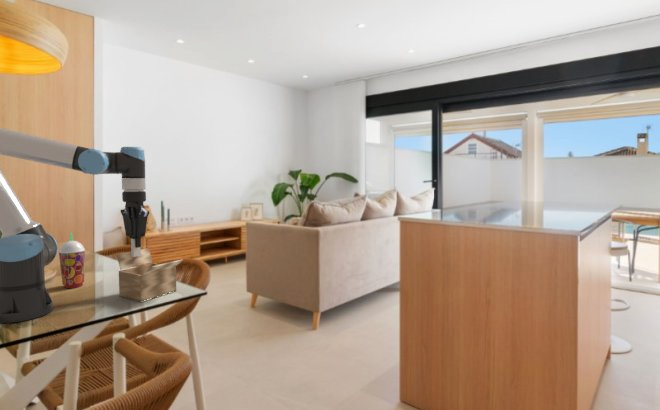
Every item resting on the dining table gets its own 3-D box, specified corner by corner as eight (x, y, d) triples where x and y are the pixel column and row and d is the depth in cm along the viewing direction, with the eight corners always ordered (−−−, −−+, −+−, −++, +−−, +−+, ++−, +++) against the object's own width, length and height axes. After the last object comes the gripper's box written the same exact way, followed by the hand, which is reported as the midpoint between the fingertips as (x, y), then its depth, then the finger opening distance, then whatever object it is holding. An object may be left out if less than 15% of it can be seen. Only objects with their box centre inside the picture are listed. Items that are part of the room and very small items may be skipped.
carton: (142, 302, 130) (141, 275, 130) (119, 296, 136) (118, 271, 135) (176, 291, 143) (175, 267, 142) (154, 286, 148) (153, 263, 148)
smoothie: (63, 284, 150) (61, 232, 148) (88, 282, 153) (86, 231, 151) (57, 290, 142) (54, 235, 141) (83, 288, 145) (81, 234, 144)
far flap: (121, 269, 136) (116, 254, 136) (120, 269, 136) (116, 254, 137) (152, 262, 147) (148, 248, 147) (152, 262, 147) (148, 248, 148)
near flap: (143, 274, 130) (152, 267, 128) (143, 273, 130) (152, 266, 128) (174, 267, 141) (183, 260, 139) (174, 266, 141) (183, 259, 139)
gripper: (155, 190, 140) (157, 256, 142) (132, 190, 146) (134, 252, 148) (136, 191, 133) (138, 260, 135) (112, 190, 139) (115, 256, 141)
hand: (136, 256), depth 141 cm, fingers closed
